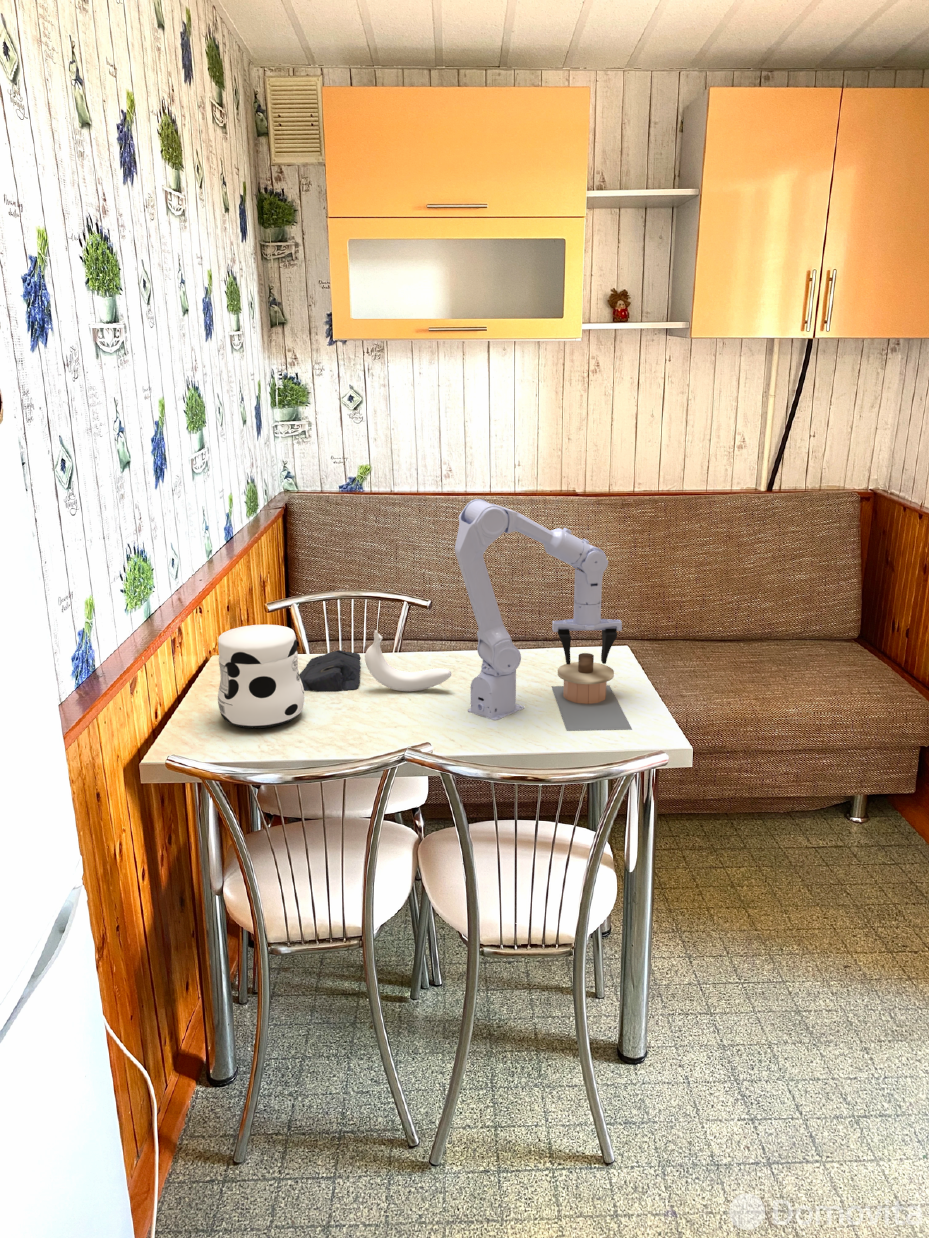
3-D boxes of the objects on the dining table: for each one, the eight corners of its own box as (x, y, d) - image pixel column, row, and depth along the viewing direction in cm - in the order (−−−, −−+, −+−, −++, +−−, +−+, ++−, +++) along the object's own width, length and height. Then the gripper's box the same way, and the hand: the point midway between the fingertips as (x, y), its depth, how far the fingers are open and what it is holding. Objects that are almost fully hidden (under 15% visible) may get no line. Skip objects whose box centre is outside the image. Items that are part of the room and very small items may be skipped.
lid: (592, 688, 191) (592, 668, 190) (546, 675, 199) (546, 656, 198) (624, 673, 200) (625, 654, 198) (579, 661, 207) (579, 643, 206)
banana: (451, 694, 203) (450, 631, 199) (365, 695, 203) (362, 631, 199) (452, 687, 208) (451, 624, 204) (367, 687, 208) (364, 625, 204)
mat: (632, 731, 183) (632, 729, 183) (566, 732, 183) (566, 730, 183) (609, 686, 207) (609, 685, 207) (551, 687, 207) (551, 686, 207)
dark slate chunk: (370, 662, 227) (369, 643, 225) (357, 694, 206) (356, 674, 204) (308, 661, 227) (306, 643, 226) (288, 694, 206) (287, 673, 205)
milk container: (320, 708, 196) (316, 627, 191) (277, 740, 181) (271, 652, 176) (249, 699, 202) (243, 619, 197) (202, 728, 186) (194, 643, 181)
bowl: (589, 706, 195) (590, 684, 193) (555, 696, 201) (555, 674, 199) (614, 695, 201) (614, 673, 200) (580, 685, 207) (580, 664, 206)
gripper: (555, 607, 191) (554, 669, 195) (625, 606, 191) (623, 668, 195) (551, 598, 198) (550, 658, 202) (619, 597, 198) (616, 657, 202)
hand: (585, 662), depth 199 cm, fingers open, 7 cm apart
